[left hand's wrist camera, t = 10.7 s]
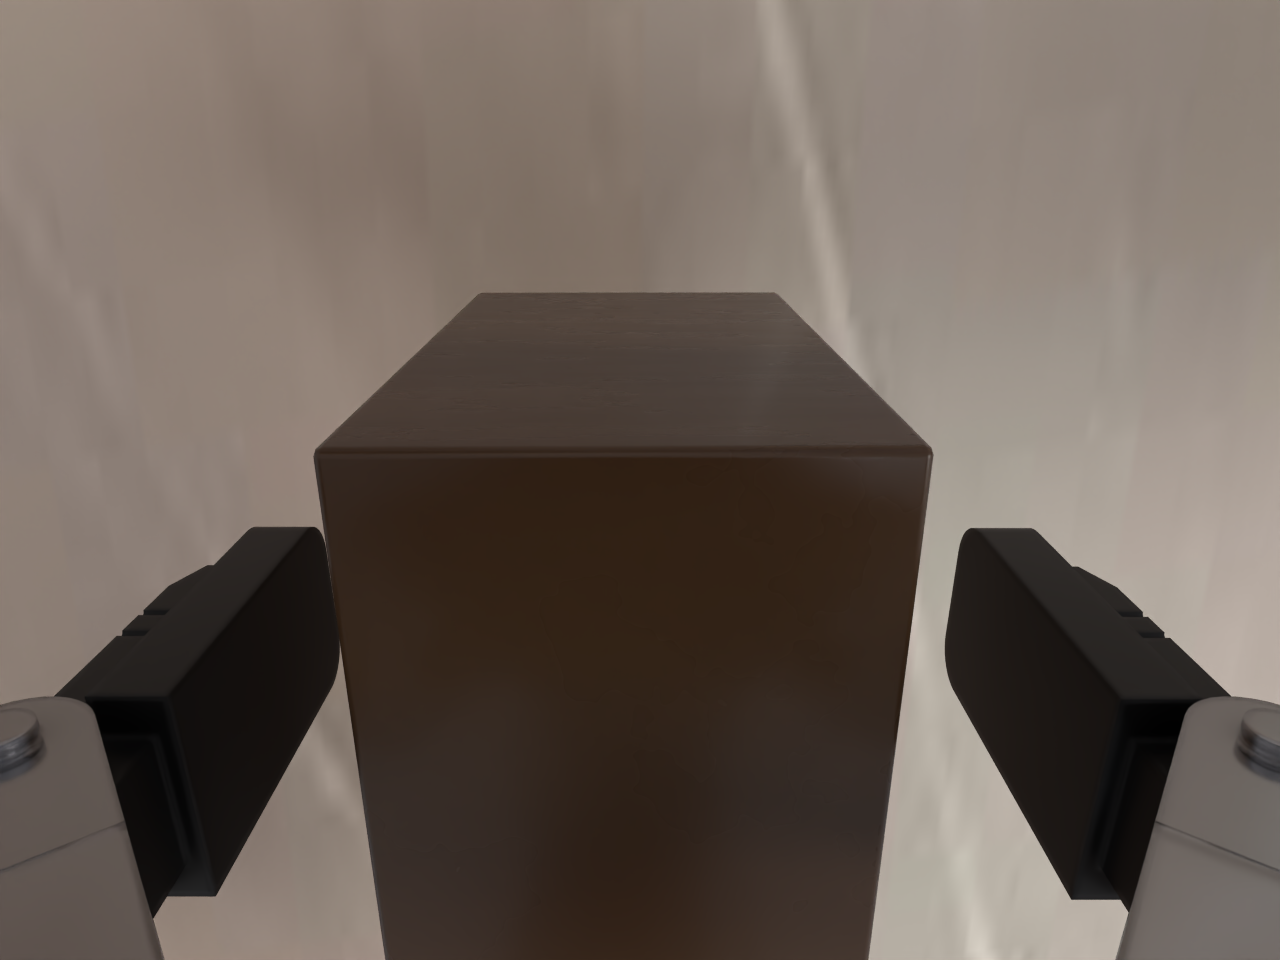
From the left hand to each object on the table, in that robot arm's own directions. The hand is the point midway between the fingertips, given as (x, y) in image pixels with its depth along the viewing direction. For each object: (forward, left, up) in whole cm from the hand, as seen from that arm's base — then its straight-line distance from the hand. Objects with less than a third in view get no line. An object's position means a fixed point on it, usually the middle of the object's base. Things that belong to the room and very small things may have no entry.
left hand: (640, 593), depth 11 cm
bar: (+10, 0, -5) cm, 11 cm away
